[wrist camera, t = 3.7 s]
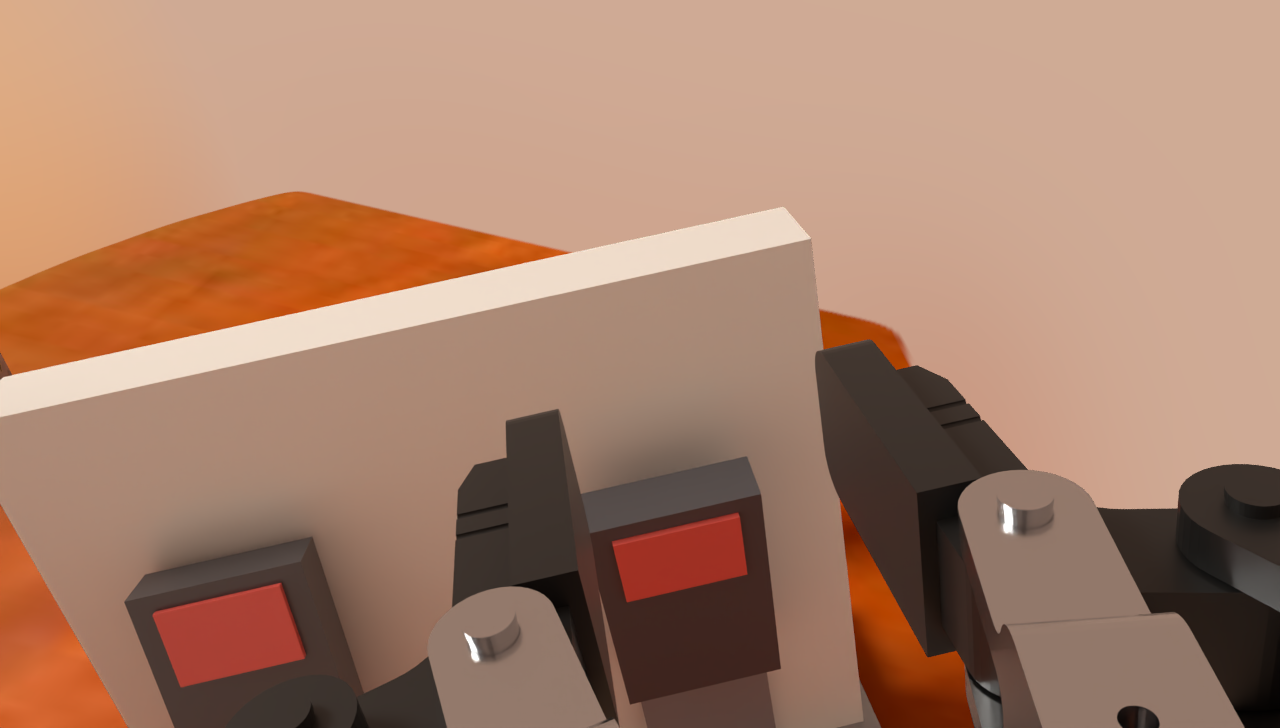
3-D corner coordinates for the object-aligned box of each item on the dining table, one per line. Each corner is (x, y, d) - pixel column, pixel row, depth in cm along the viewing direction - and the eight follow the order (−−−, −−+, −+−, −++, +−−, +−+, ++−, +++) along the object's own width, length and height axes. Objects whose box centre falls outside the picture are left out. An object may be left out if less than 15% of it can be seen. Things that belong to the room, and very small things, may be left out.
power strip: (904, 801, 36) (856, 265, 26) (197, 973, 35) (-110, 480, 25) (821, 614, 45) (764, 164, 35) (256, 747, 44) (44, 320, 34)
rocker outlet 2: (782, 674, 33) (762, 498, 28) (630, 710, 33) (584, 539, 28) (768, 629, 34) (747, 455, 29) (622, 663, 34) (577, 494, 29)
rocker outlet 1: (376, 796, 31) (299, 564, 29) (213, 835, 31) (121, 605, 28) (385, 757, 33) (312, 536, 30) (230, 794, 32) (144, 574, 30)
